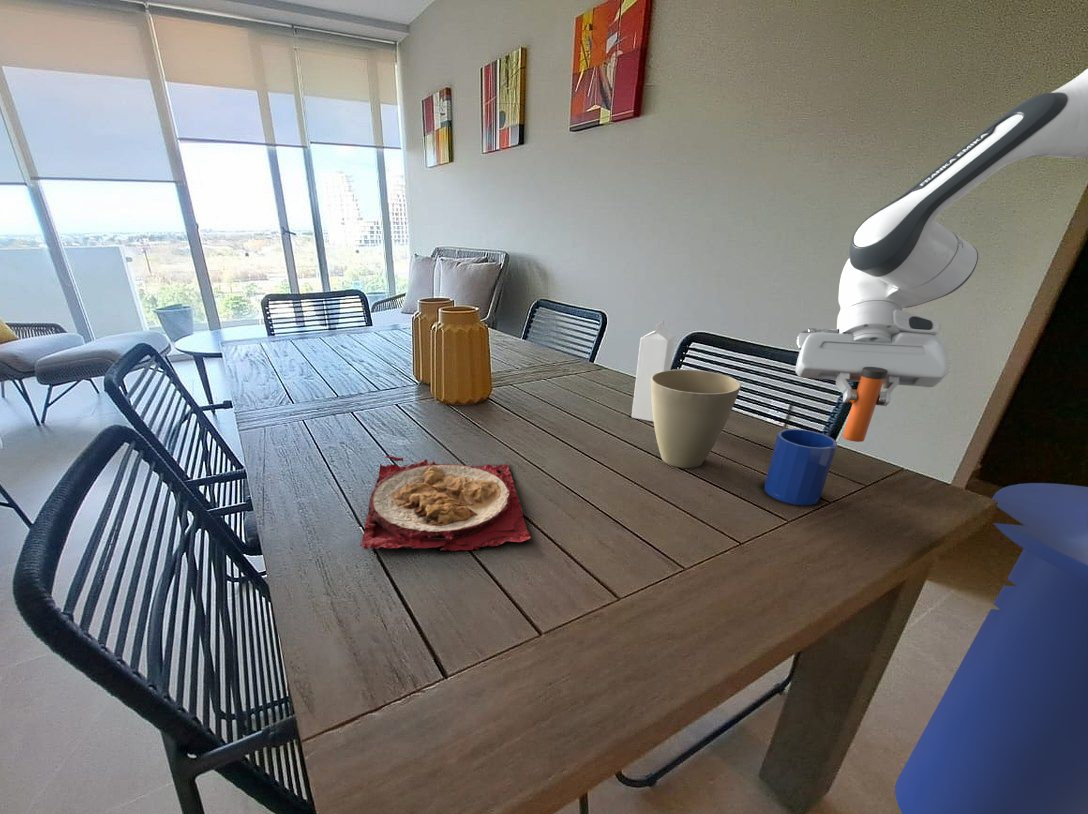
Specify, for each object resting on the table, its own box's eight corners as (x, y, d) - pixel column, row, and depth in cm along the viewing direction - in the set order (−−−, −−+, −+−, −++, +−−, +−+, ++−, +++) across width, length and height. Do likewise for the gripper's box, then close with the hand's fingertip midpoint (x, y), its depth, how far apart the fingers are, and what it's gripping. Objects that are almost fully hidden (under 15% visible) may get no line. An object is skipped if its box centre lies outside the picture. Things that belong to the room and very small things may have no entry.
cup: (808, 483, 83) (824, 430, 79) (827, 507, 76) (846, 450, 71) (757, 480, 84) (771, 427, 80) (772, 503, 77) (788, 446, 73)
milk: (663, 415, 115) (678, 321, 106) (656, 422, 110) (671, 325, 101) (638, 410, 118) (650, 319, 109) (630, 417, 113) (642, 323, 104)
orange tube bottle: (859, 435, 82) (881, 367, 77) (868, 442, 79) (892, 372, 74) (838, 434, 83) (859, 366, 78) (846, 441, 80) (868, 371, 75)
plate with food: (360, 559, 66) (357, 538, 64) (381, 470, 89) (379, 454, 87) (531, 549, 68) (532, 529, 66) (508, 465, 91) (508, 449, 89)
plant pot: (634, 443, 99) (643, 368, 93) (707, 445, 98) (722, 369, 91) (650, 477, 86) (662, 392, 79) (735, 479, 84) (755, 393, 78)
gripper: (803, 317, 83) (797, 387, 79) (953, 322, 75) (956, 400, 71) (793, 338, 88) (787, 404, 84) (932, 345, 81) (933, 418, 77)
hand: (866, 402), depth 78 cm, fingers closed on orange tube bottle, 3 cm apart
